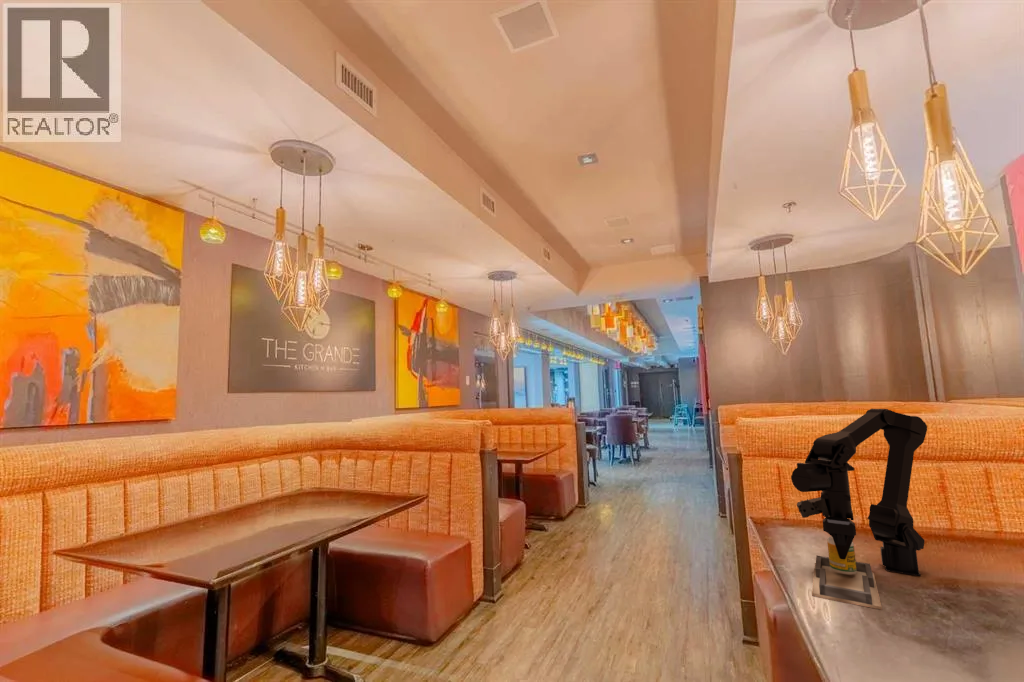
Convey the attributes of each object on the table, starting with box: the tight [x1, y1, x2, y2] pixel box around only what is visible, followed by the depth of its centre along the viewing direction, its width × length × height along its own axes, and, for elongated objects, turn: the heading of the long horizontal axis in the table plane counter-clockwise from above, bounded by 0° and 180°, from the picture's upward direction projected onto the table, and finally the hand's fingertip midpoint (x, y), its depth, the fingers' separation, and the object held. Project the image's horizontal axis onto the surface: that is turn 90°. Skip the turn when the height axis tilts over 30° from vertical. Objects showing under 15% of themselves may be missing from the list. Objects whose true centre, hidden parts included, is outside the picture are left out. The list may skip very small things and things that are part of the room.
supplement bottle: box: [826, 535, 857, 575], centre depth 111 cm, size 5×5×10 cm
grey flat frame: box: [811, 555, 883, 611], centre depth 105 cm, size 12×22×3 cm, turn 145°
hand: (842, 555), depth 110 cm, fingers closed on supplement bottle, 5 cm apart
